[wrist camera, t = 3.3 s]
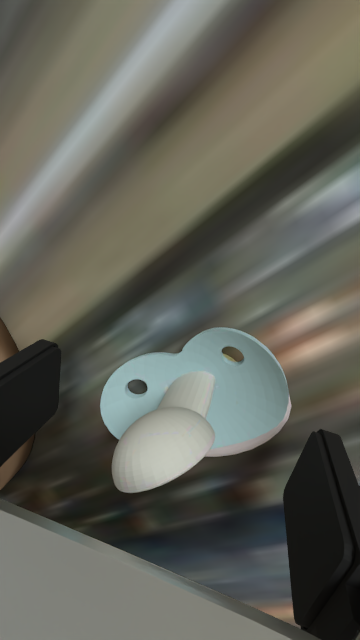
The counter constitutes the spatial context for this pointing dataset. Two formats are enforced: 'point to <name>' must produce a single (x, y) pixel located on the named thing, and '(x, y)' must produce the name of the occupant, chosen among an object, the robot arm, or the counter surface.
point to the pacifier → (192, 407)
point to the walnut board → (3, 348)
